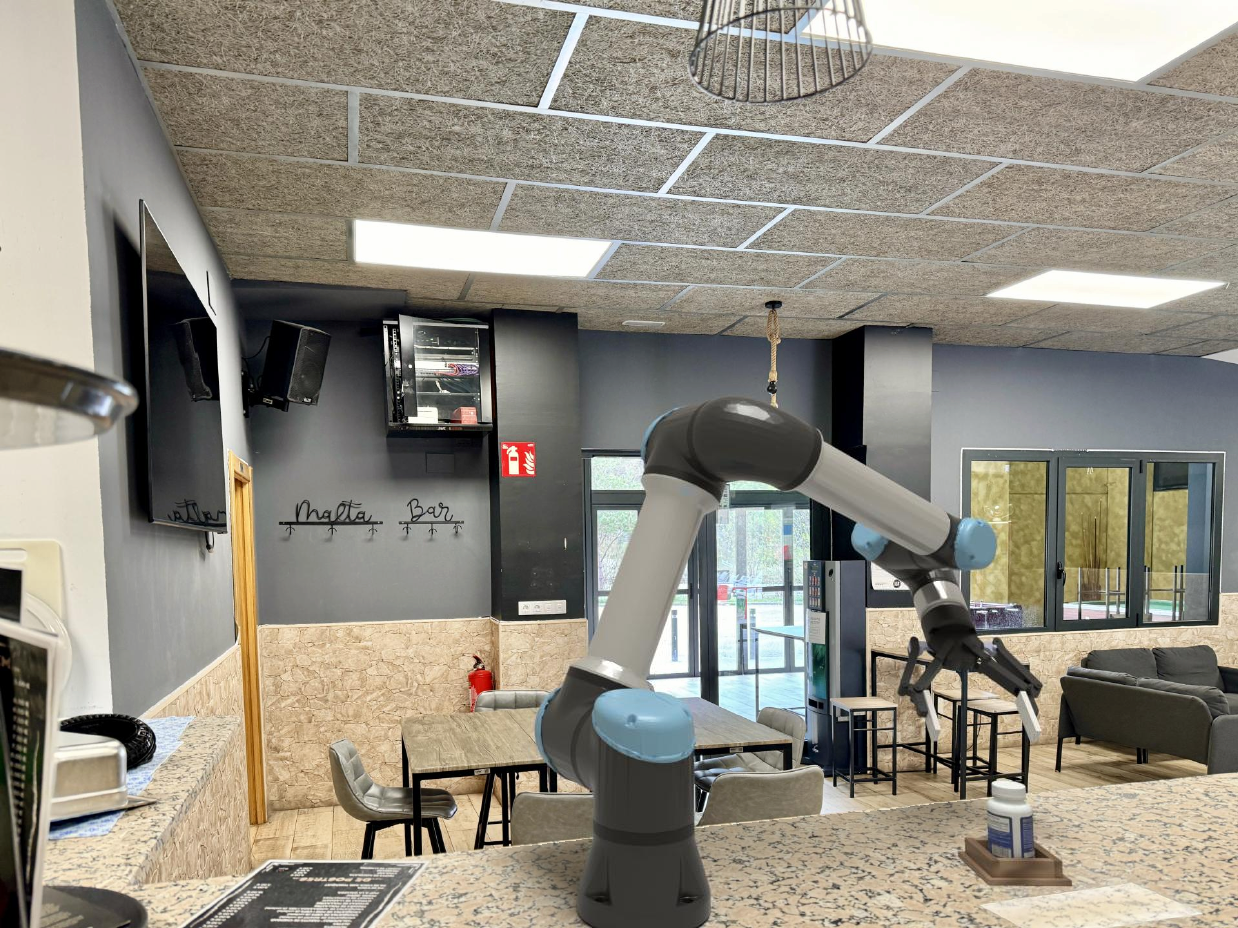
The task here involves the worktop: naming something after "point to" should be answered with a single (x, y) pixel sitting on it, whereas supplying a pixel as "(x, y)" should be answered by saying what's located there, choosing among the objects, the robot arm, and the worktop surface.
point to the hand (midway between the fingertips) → (986, 736)
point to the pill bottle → (1010, 821)
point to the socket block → (1013, 866)
